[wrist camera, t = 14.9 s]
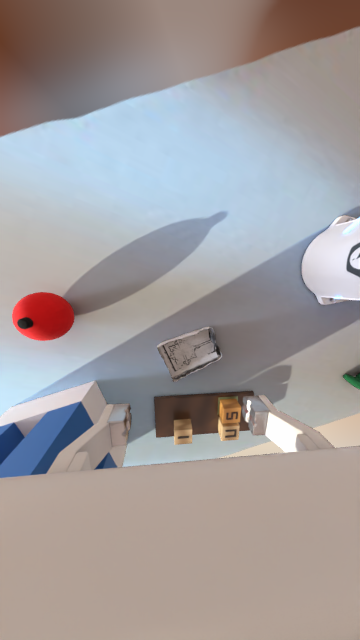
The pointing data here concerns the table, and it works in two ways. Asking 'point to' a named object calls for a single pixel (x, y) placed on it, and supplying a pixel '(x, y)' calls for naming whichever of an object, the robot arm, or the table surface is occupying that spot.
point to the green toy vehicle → (353, 380)
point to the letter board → (196, 416)
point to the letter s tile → (229, 410)
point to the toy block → (51, 430)
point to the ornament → (43, 316)
